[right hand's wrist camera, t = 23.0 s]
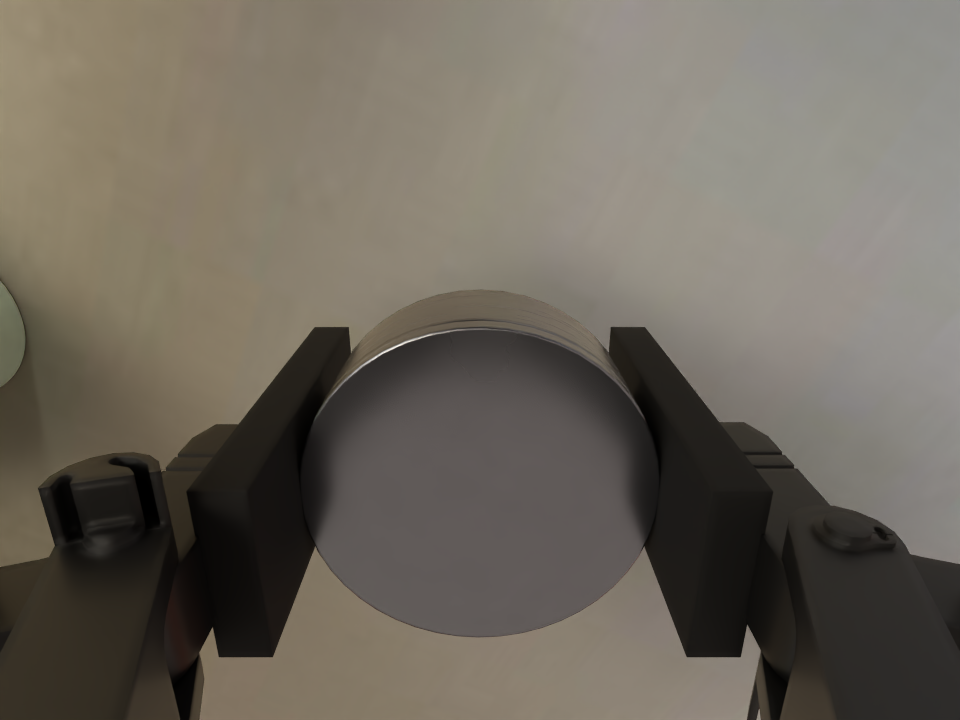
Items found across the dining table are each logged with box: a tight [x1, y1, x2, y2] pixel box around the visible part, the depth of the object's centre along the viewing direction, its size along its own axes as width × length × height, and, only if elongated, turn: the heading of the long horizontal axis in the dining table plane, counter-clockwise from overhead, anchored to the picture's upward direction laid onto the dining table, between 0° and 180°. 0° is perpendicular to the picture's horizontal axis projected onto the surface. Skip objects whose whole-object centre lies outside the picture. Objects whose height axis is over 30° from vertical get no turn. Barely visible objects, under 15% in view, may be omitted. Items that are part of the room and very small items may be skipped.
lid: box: [299, 290, 660, 637], centre depth 11 cm, size 6×6×2 cm
